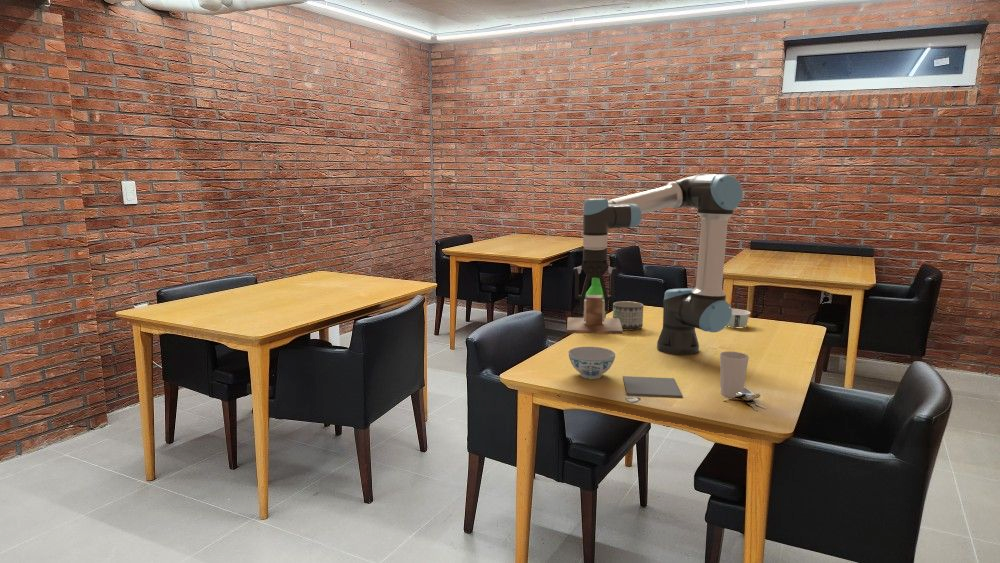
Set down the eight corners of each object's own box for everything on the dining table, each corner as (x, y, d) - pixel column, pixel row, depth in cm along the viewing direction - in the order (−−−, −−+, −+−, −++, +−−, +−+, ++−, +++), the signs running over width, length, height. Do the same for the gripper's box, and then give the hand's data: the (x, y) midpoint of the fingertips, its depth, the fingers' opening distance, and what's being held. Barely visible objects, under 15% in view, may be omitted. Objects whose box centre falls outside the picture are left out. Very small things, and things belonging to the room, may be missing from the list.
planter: (611, 324, 270) (612, 300, 268) (641, 325, 268) (642, 301, 266) (613, 330, 258) (613, 306, 256) (643, 332, 256) (644, 307, 254)
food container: (754, 329, 261) (755, 314, 260) (725, 329, 261) (726, 314, 260) (743, 323, 273) (744, 308, 272) (716, 322, 273) (717, 308, 272)
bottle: (582, 332, 255) (583, 272, 251) (587, 327, 263) (588, 270, 259) (603, 334, 252) (604, 274, 248) (607, 329, 260) (609, 271, 256)
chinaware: (603, 386, 188) (604, 362, 187) (559, 377, 196) (560, 354, 195) (621, 373, 201) (622, 350, 199) (579, 366, 209) (580, 344, 207)
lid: (619, 321, 203) (619, 291, 201) (622, 334, 186) (623, 302, 185) (567, 320, 205) (567, 291, 203) (566, 333, 189) (567, 301, 187)
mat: (674, 380, 194) (674, 378, 194) (682, 397, 179) (682, 395, 178) (622, 377, 196) (622, 376, 196) (627, 395, 180) (627, 393, 180)
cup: (712, 389, 185) (715, 351, 183) (738, 389, 186) (740, 351, 184) (724, 399, 177) (727, 359, 175) (751, 398, 178) (754, 358, 176)
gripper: (623, 246, 194) (621, 318, 198) (566, 246, 196) (565, 317, 200) (625, 249, 187) (623, 323, 191) (565, 249, 189) (565, 322, 193)
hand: (594, 320), depth 195 cm, fingers closed on lid, 5 cm apart
